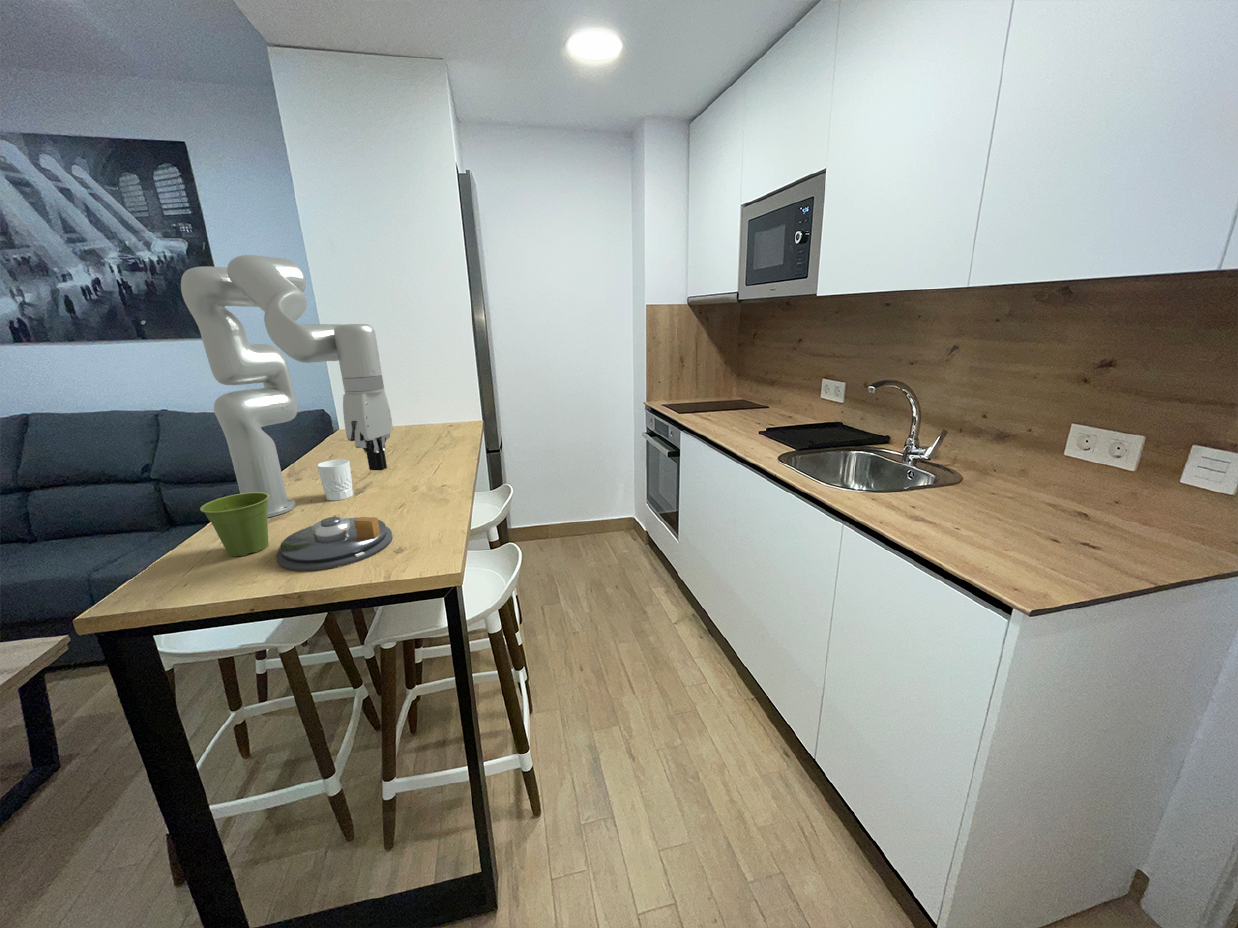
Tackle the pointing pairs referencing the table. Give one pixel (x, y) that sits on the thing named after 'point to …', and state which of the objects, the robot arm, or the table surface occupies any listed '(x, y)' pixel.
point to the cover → (331, 529)
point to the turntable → (309, 551)
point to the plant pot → (240, 521)
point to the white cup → (336, 479)
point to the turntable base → (338, 562)
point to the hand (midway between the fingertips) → (378, 469)
